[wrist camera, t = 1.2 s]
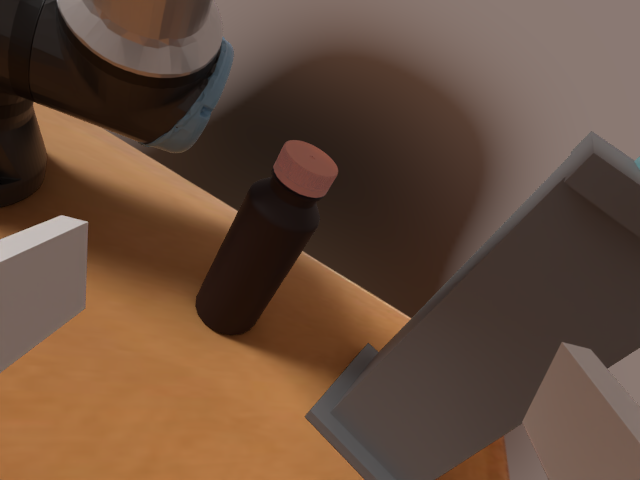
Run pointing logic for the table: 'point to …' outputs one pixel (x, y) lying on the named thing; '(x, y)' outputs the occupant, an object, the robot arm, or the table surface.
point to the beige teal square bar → (638, 162)
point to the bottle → (265, 239)
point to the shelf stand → (498, 326)
